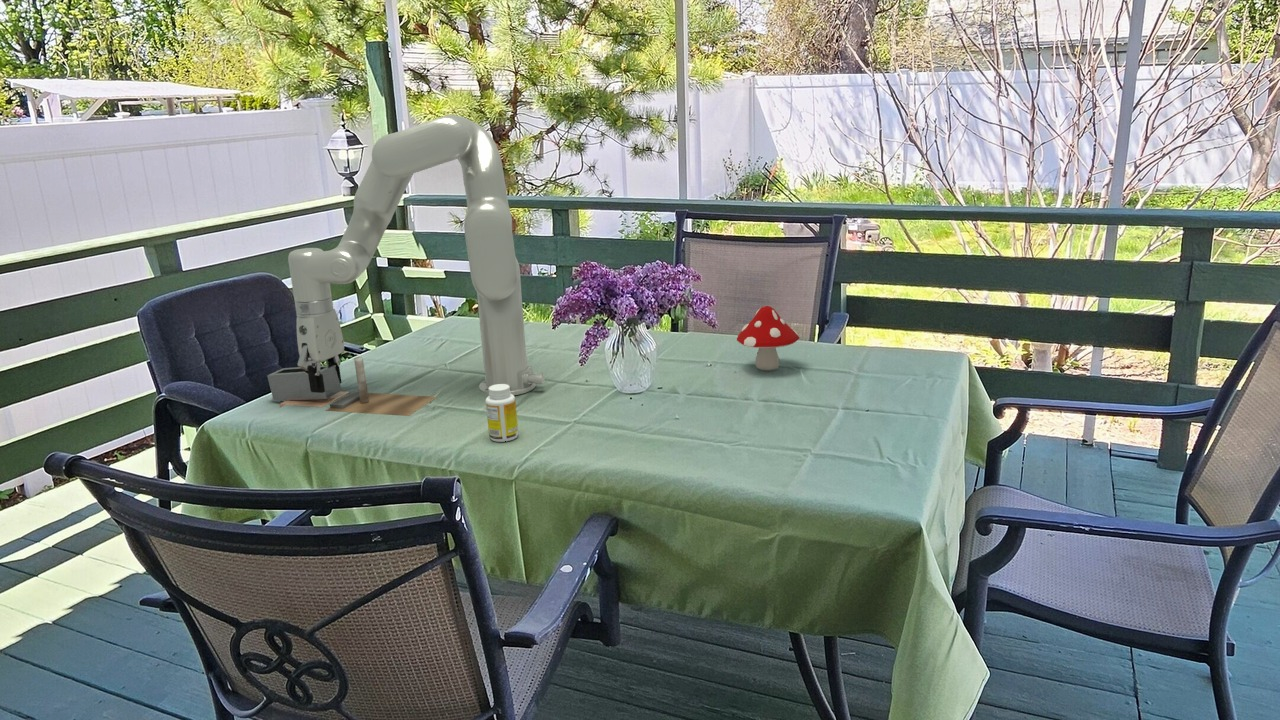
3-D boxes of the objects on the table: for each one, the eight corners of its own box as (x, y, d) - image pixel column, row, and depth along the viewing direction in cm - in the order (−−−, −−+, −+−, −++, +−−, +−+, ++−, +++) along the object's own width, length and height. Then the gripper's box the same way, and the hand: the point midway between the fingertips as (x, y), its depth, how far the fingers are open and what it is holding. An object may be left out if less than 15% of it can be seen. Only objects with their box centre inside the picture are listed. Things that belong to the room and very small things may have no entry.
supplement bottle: (519, 431, 174) (514, 381, 171) (518, 441, 169) (513, 390, 166) (490, 433, 174) (485, 383, 171) (488, 444, 169) (483, 392, 166)
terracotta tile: (350, 395, 201) (349, 391, 201) (323, 410, 192) (322, 406, 192) (308, 392, 204) (308, 389, 204) (280, 407, 195) (279, 404, 195)
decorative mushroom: (794, 359, 211) (795, 297, 207) (803, 377, 198) (804, 311, 194) (734, 361, 212) (733, 300, 207) (740, 379, 199) (739, 314, 194)
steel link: (341, 390, 198) (335, 364, 197) (326, 398, 193) (320, 372, 192) (289, 393, 203) (283, 368, 201) (273, 401, 198) (267, 375, 196)
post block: (438, 400, 195) (432, 352, 192) (409, 419, 184) (402, 369, 181) (358, 395, 200) (351, 349, 197) (325, 414, 189) (318, 365, 186)
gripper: (304, 317, 182) (317, 401, 187) (352, 298, 198) (363, 376, 203) (273, 316, 184) (286, 399, 189) (323, 297, 200) (335, 375, 205)
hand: (326, 386), depth 196 cm, fingers closed on steel link, 5 cm apart
